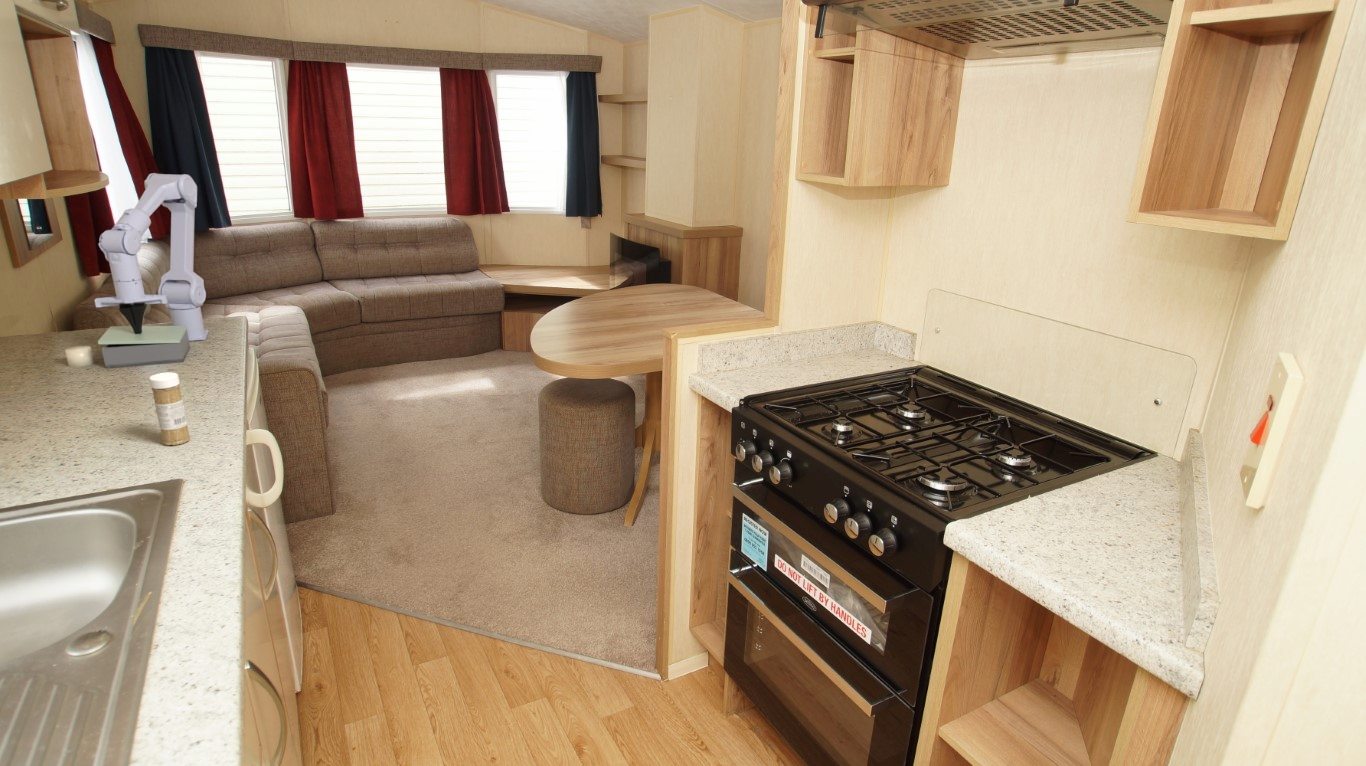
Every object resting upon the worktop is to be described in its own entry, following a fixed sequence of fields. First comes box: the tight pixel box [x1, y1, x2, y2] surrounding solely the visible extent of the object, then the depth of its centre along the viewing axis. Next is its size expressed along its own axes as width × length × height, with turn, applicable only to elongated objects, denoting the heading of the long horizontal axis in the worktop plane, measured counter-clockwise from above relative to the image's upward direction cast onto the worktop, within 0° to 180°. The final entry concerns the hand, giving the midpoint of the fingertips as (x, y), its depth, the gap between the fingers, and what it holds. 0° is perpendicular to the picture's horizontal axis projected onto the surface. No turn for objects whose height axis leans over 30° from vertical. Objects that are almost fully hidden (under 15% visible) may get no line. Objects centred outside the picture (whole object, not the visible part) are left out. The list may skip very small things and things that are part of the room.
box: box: [101, 330, 191, 369], centre depth 191 cm, size 14×16×5 cm
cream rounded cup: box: [64, 345, 95, 368], centre depth 185 cm, size 5×5×4 cm
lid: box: [97, 325, 187, 345], centre depth 190 cm, size 15×16×1 cm
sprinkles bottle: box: [148, 371, 191, 446], centre depth 142 cm, size 5×5×14 cm
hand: (138, 333), depth 189 cm, fingers closed, pressing on lid
